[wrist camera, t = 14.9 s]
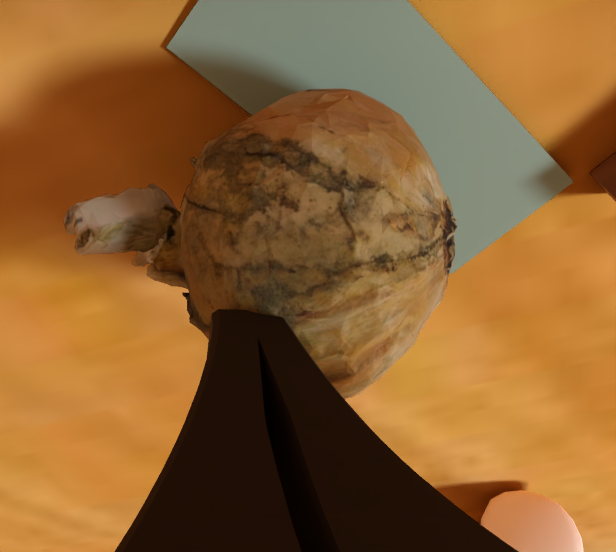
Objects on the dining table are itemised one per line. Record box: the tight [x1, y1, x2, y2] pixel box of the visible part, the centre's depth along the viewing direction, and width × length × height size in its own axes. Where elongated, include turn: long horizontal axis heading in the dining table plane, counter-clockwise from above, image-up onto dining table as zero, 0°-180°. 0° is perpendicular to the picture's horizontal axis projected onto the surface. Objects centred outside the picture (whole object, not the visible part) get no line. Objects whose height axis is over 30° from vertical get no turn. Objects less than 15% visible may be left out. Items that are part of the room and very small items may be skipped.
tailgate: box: [166, 0, 574, 274], centre depth 16 cm, size 1×12×5 cm
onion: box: [63, 88, 457, 399], centre depth 14 cm, size 8×8×8 cm
